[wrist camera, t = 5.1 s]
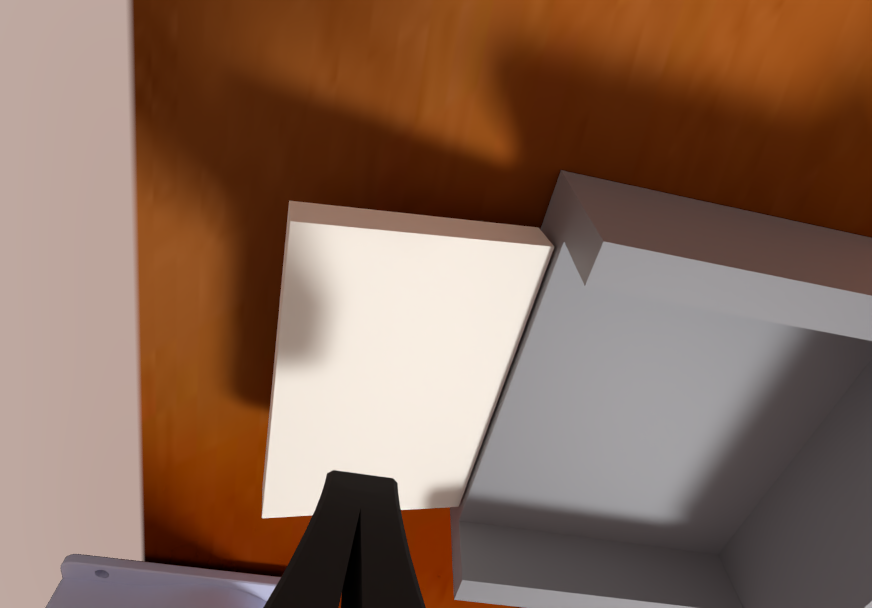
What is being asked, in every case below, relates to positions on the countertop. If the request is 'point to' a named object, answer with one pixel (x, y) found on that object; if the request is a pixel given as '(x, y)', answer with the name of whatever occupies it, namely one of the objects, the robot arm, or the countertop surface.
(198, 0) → the countertop surface
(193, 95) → the countertop surface
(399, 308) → the panel
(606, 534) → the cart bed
